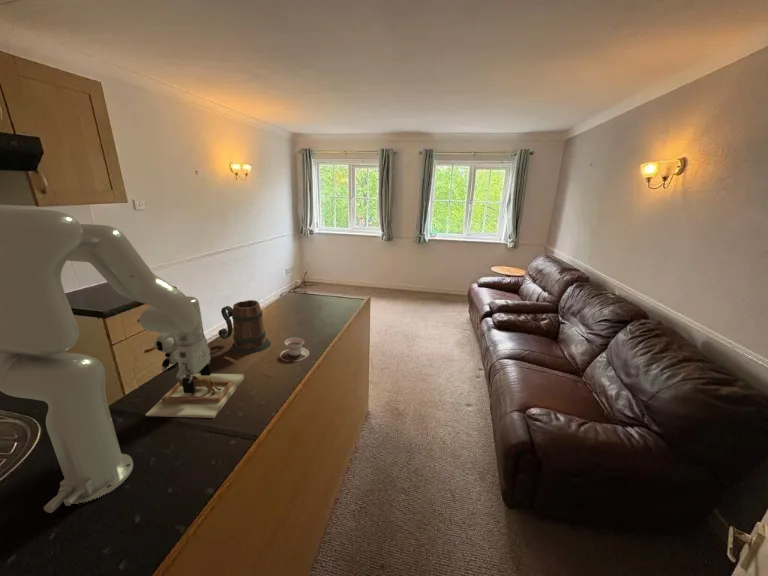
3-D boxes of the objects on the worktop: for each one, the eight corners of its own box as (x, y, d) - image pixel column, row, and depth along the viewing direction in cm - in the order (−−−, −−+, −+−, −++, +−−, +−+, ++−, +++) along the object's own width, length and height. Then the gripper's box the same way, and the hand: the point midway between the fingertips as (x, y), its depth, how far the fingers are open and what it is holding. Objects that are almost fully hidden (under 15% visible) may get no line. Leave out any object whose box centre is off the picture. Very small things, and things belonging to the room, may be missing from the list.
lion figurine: (179, 398, 99) (175, 379, 97) (184, 390, 103) (180, 371, 101) (219, 394, 102) (217, 375, 100) (223, 386, 106) (220, 367, 104)
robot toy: (167, 374, 115) (160, 337, 110) (158, 372, 116) (150, 336, 111) (194, 358, 126) (189, 324, 122) (185, 356, 127) (179, 323, 123)
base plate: (214, 419, 93) (213, 411, 92) (146, 419, 92) (144, 411, 92) (244, 377, 114) (243, 371, 113) (188, 377, 114) (187, 370, 113)
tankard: (278, 340, 143) (275, 299, 137) (256, 358, 127) (251, 313, 122) (234, 334, 148) (229, 294, 142) (207, 350, 132) (200, 307, 126)
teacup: (315, 353, 133) (314, 340, 131) (293, 365, 123) (293, 351, 122) (295, 345, 139) (294, 333, 137) (273, 356, 129) (272, 343, 128)
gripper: (186, 349, 89) (195, 400, 94) (215, 325, 105) (222, 369, 110) (159, 349, 88) (169, 400, 93) (193, 324, 105) (200, 369, 110)
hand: (198, 383), depth 102 cm, fingers open, 9 cm apart
